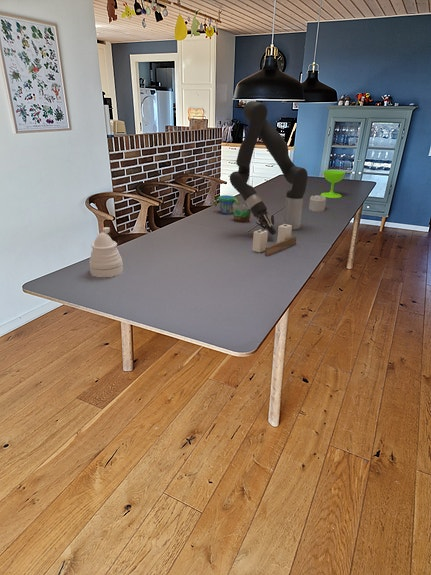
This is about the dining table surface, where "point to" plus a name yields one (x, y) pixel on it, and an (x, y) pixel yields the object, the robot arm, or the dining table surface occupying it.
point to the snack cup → (226, 203)
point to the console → (280, 246)
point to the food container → (241, 213)
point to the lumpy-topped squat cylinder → (317, 203)
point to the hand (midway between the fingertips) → (274, 233)
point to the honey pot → (105, 256)
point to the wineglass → (333, 177)
